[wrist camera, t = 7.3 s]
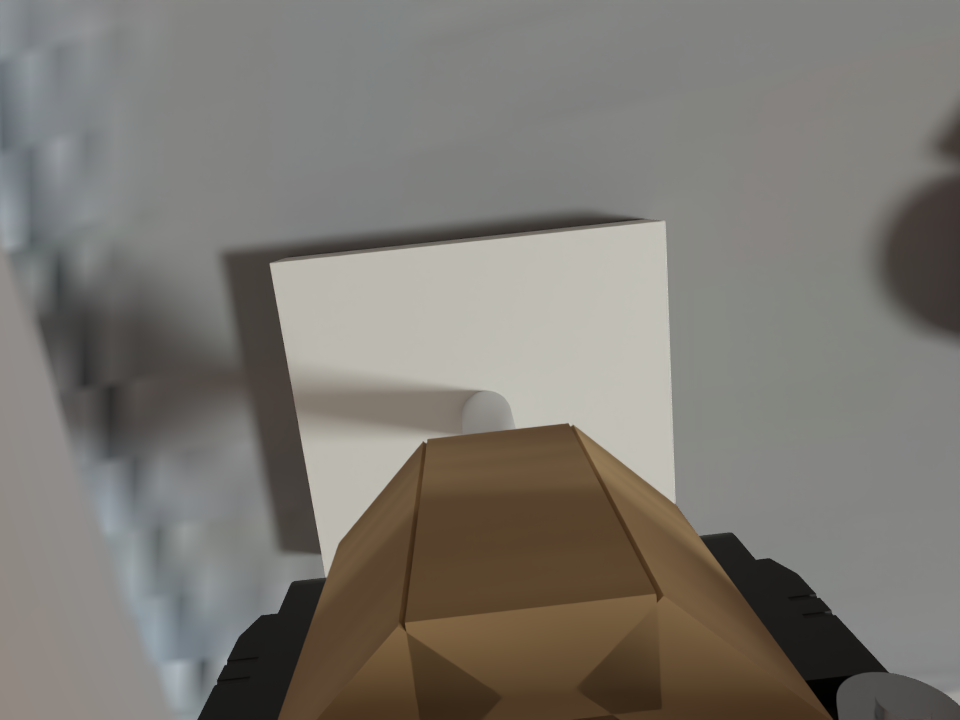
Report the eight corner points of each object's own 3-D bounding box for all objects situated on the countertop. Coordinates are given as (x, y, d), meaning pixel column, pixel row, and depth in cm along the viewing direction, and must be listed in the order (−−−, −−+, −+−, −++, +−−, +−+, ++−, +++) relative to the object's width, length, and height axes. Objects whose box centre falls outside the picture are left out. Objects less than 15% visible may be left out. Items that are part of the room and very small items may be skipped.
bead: (320, 450, 11) (215, 643, 6) (674, 411, 11) (844, 571, 6) (371, 746, 12) (318, 1094, 8) (685, 709, 13) (831, 1031, 8)
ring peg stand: (286, 257, 22) (126, 310, 11) (646, 219, 22) (824, 235, 11) (337, 555, 24) (247, 825, 14) (659, 520, 24) (813, 760, 14)
